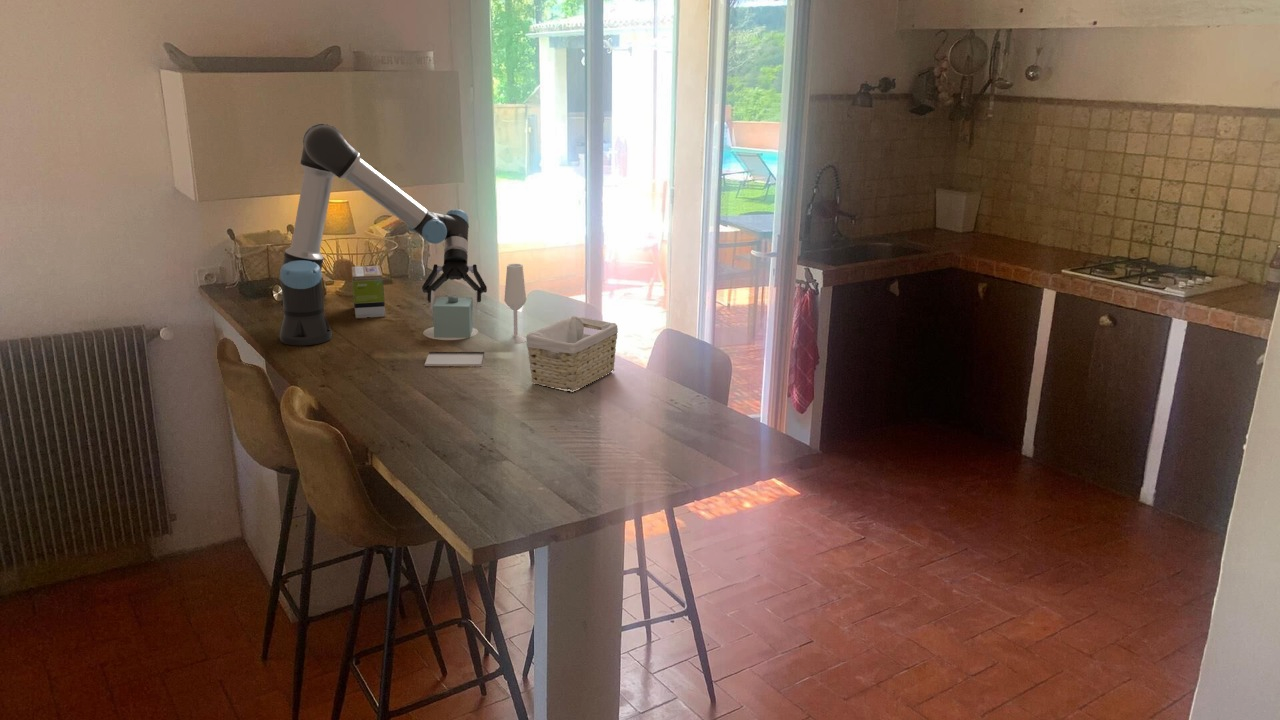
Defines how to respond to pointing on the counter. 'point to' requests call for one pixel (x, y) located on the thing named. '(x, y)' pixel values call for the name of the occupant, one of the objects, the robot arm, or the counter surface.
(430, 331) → the plate
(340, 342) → the counter surface
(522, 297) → the champagne flute
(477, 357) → the mat
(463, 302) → the cover
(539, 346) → the storage basket
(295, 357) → the counter surface
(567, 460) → the counter surface
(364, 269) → the tea box
